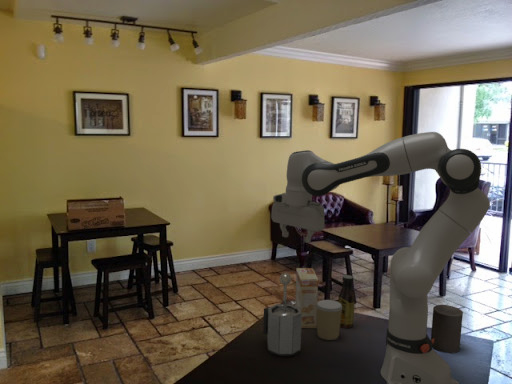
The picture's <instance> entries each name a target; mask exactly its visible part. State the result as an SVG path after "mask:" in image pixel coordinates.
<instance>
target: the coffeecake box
mask: <svg viewBox="0 0 512 384" xmlns="http://www.w3.org/2000/svg"><path fill="white" fill-rule="evenodd" d="M295 270H296V273H295V302H294V303H295V305H294V306H296V307H299V308H300V309H301V312H302V318H301V329H317V307H316V305H317V303H318V295H319V291H318V290H319V278H318V276H317V275H316V271H315V270H314V268H313V267H312V268H311V267H310V268H309V267H296V269H295Z"/></svg>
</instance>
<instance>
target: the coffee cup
mask: <svg viewBox="0 0 512 384" xmlns="http://www.w3.org/2000/svg"><path fill="white" fill-rule="evenodd" d="M316 307H317V328H316V330H317V337H319V338H320V339H323V340H326V341H332V340H333V341H334V340H337V339H339V336H340V329H341V328H340V321H341V311H342V305H341V304H340V303H339V302H338V301H337V300H333V299H321V300H319V301H317V305H316Z"/></svg>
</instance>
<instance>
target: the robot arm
mask: <svg viewBox="0 0 512 384" xmlns="http://www.w3.org/2000/svg"><path fill="white" fill-rule="evenodd" d="M286 166H287V168H286V180H287V183H286V187H285V192H284V193H283V192H282V193H280V194H275V195H273V199H272V200H273V204H272V207H271V220H272V222H273V223H278V224H279V228H280V231H281V232H282V233H281V236H282V237H283V238H288V237H289V233H290V232H289V231H288V230H287V227H288V226H291V227H294V228H299V229H303V230H306V233H307V235H306V236H304V238H303V242H304V243H307V244H309V243H311V241H312V237H313V235H314V234H315V232H321V231H323V230H324V229H325V207H324V205H323V204H322V203H321V202H320V201H319V202H315V201H313V200H312V198H313V196H314V197H323V196H325V195H327V194H328V193H330V192H332V191H334V190H336V189H337V188H338V187H340V185H342V184H347V183H350V182H353V181H357V180H361V179H364V178H371V177H391V176H393V177H394V176H401V175H407V174H410V173H411V174H412V173H415V172H418V171H423V170H433V171H435V172H436V174H437V175H438V176H439V178H440V180H441V182H442V183H443V184H444V185H446V187H448V188H449V194H448V197H447V198H446V200H445V201H444V202H443V203H442V205H441V206H439V208H438V209H437V210H436V211H435V212H434V213H433V215H432V216H431V217H430V218H429V220H427V222H426V223H425V224H424V225H423V226H422V227H421V229H420V231H419V232H418V234H417V236H416V238H415V239H414V241H413V242H412V244H411V245H410V246H404V247H401V248H398V249H397V250H396V251H395V252H394V254H392V257H391V260H390V264H389V265H390V266H389V269H390V270H389V311H388V327H387V329H386V337H385V347H386V351H385V355H384V359H383V363H382V367H381V369H380V375H381V377H382V378H383V379H384V380H385V381H386V384H460V383H459V381H457V380H456V379H454V378H453V377H452V376H453V375H452V370H451V366H450V365H449V364H448V362H447V361H446V360H444V358H442V356H440V355H439V354H438V353H437V351H435V349H434V348H433V347H432V344H433V343H434V338H433V339H432V340H431V337H429V335H428V331H427V329H428V318H429V317H428V316H429V305H428V304H429V303H428V294H429V293H430V292H431V290H432V288H433V287H434V284H435V282H436V280H438V277H439V276H440V275H441V273H442V272H443V270H444V268H445V267H446V266H447V264H448V262H449V261H450V259H451V258H452V256H454V255H453V254H454V253H455V252H456V251H457V250H458V249H459V248H460V247H461V245H463V243H464V242H465V241H466V240H467V239H468V238H469V237H470V236H471V234H472V233H473V232H474V231H475V230H476V228H477V227H478V226H479V225H480V223H481V222H482V220H483V219H485V216H486V214H487V213H488V212H489V210H490V207H491V202H490V199H489V197H488V195H487V194H486V193H485V192H484V191H483V190H481V189H480V188H479V186H480V185H479V184H480V181H481V180H480V179H481V175H482V164H481V160H480V158H479V156H478V155H477V154H476V153H474V152H473V151H471V150H470V149H466V148H454V149H450V148H449V146H448V143H447V141H446V139H445V138H444V136H443V135H442V134H441V133H439V132H437V131H427V132H421V133H414V134H409V135H406V136H402V137H399V138H396V139H394V140H391V141H389V142H386V143H384V144H382V145H379V147H377V148H375V149H373V150H371V151H370V152H369V153H367V154H364V155H362V156H360V157H356V158H353V159H349V160H345V161H342V162H337V163H333V162H331V161H328V160H326V159H323V158H322V157H320V156H318V155H316V154H315V153H314V151H312V150H308V149H307V150H299V151H294V152H291V154H289V157H288V159H287V165H286Z"/></svg>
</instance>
